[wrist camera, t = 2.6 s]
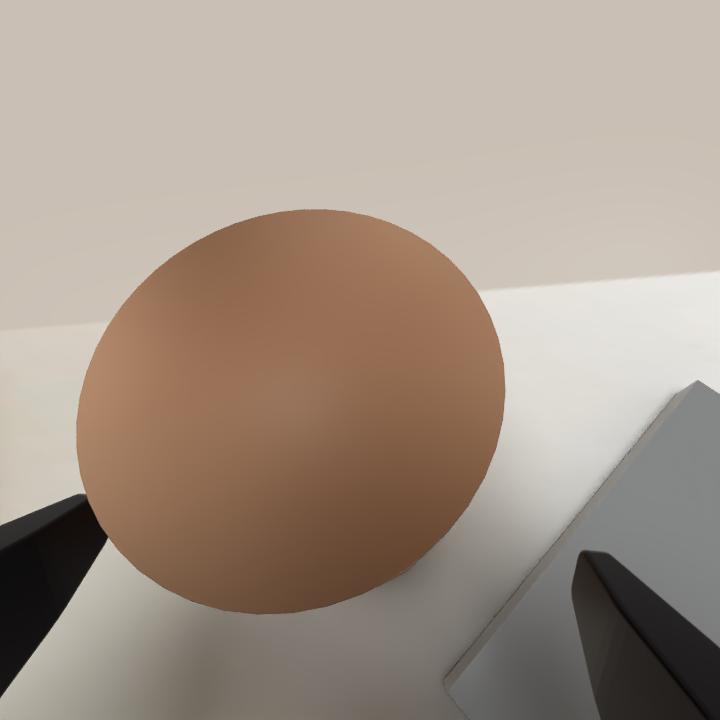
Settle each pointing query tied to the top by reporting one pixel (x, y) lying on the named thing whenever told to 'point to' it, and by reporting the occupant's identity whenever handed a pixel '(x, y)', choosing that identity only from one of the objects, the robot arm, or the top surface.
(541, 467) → the top surface
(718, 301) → the top surface
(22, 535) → the robot arm
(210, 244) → the banded brown cylinder
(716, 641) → the slate board
